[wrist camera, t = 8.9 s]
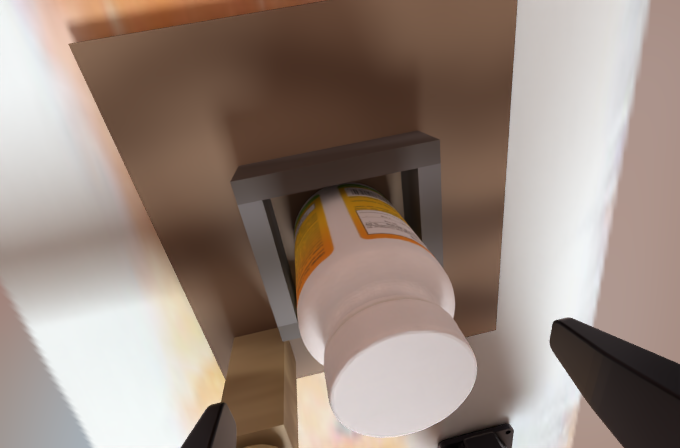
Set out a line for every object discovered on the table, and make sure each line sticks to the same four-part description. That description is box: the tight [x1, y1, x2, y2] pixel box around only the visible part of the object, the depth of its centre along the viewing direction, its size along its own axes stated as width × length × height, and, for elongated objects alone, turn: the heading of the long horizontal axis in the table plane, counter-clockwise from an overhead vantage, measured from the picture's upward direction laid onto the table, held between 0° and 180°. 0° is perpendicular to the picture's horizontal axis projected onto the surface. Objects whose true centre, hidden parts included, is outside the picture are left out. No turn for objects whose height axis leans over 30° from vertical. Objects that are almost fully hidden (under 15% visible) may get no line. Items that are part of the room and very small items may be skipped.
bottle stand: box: [69, 0, 517, 448], centre depth 15 cm, size 20×18×7 cm
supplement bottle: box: [294, 182, 477, 438], centre depth 13 cm, size 5×5×10 cm
